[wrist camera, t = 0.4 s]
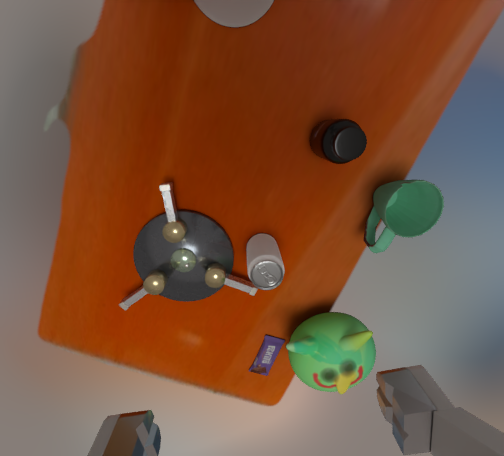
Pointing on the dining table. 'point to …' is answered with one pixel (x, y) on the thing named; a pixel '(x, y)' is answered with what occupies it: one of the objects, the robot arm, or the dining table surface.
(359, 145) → the supplement bottle
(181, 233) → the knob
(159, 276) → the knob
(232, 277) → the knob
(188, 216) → the levelling plate
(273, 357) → the snack package
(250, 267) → the can
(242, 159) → the dining table surface
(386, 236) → the mug
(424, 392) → the robot arm
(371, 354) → the toy bird
